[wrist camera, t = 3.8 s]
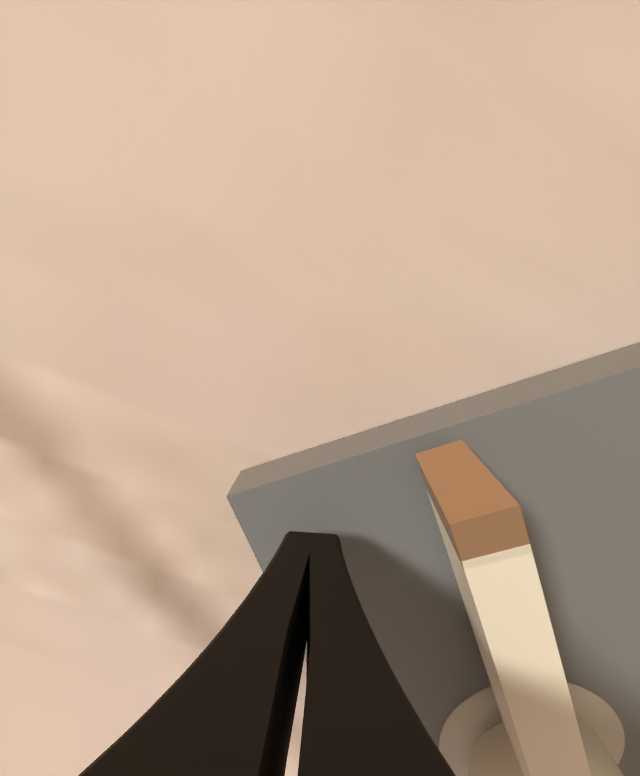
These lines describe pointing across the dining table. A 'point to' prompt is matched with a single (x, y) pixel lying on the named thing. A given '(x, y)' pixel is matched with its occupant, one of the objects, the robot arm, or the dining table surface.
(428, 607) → the dial board
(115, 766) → the robot arm
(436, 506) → the brown-capped cream post
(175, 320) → the dining table surface
